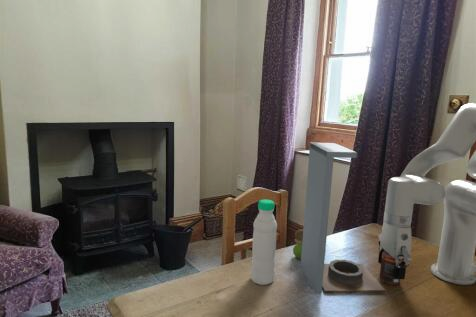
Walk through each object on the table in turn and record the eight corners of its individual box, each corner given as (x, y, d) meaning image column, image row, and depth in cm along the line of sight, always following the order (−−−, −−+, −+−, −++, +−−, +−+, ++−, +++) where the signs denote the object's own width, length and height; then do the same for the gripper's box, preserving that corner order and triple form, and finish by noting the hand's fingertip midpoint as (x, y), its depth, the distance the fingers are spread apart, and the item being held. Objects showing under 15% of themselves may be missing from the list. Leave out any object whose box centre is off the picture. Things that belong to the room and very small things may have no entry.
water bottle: (258, 271, 112) (262, 196, 108) (277, 278, 108) (283, 200, 104) (246, 280, 107) (249, 201, 102) (266, 288, 103) (270, 206, 98)
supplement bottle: (401, 287, 106) (406, 252, 104) (381, 284, 108) (385, 249, 105) (397, 277, 112) (401, 243, 110) (377, 274, 113) (381, 241, 111)
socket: (361, 266, 118) (362, 255, 117) (384, 293, 103) (386, 280, 102) (309, 266, 117) (310, 255, 116) (324, 293, 101) (326, 281, 100)
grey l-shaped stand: (323, 265, 118) (334, 143, 110) (342, 294, 101) (356, 152, 93) (300, 265, 117) (309, 142, 109) (315, 294, 100) (327, 151, 93)
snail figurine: (310, 263, 119) (312, 229, 117) (291, 259, 121) (293, 226, 119) (312, 256, 124) (314, 224, 122) (293, 253, 126) (296, 221, 124)
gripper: (426, 229, 98) (418, 285, 101) (394, 209, 115) (388, 257, 118) (400, 229, 97) (393, 285, 100) (372, 208, 114) (366, 257, 117)
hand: (390, 270), depth 109 cm, fingers open, 9 cm apart
